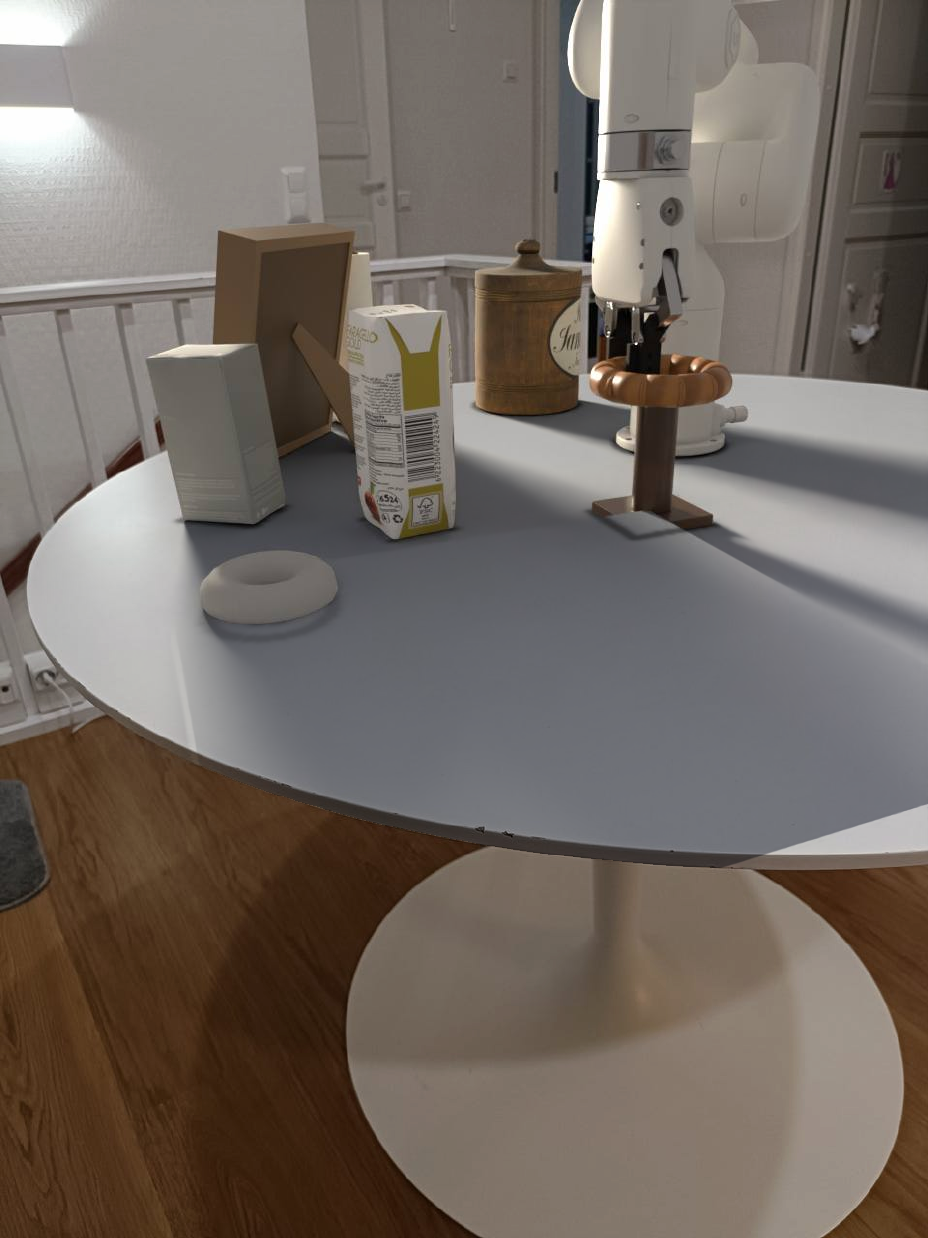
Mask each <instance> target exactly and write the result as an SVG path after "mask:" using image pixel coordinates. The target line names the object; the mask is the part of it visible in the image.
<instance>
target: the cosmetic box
mask: <svg viewBox="0 0 928 1238" xmlns="http://www.w3.org/2000/svg"><path fill="white" fill-rule="evenodd" d="M145 364H146V368H147V371H148V375H149V380H150V384H151V388H152V392H153V393H152V394H153V397H154V400H155V405H156V407H157V408H156V409H157V414H158V418H159V423H160V426H161V430H162V434H163V435H162V436H163V439H164V443H165V447H166V452H167V455H168V460H169V464H170V465H169V466H170V468H171V469H170V470H171V473H172V478H173V482H174V486H175V490H176V496H177V499H178V503H179V507H180V511H181V515H182V516H181V517H182V520H184V521H197V522H198V521H199V522H212V523H228V524H229V523H232V524H246V525H255V524H257V523H259V522H260V521H262V520H263V519H265V518H266V517H268V516H269V515H270V514H272V513H273V512H275V511H277V510H278V509H281V508H282V507H285V506H286V505H285V504H286V500H287V498H286V493H285V487H284V481H283V476H282V471H281V465H280V460H279V458H278V453H277V448H276V442H275V437H274V432H273V426H272V420H271V415H270V410H269V404H268V399H267V393H266V388H265V382H264V377H263V371H262V366H261V360H260V355H259V350H258V344H230V345H213V344H182V345H181V346H178V347H175V348H172V349H170V350H167V351H164V352H161V353H157V354H154V355H152V356H148V357H146V358H145Z"/></svg>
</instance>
